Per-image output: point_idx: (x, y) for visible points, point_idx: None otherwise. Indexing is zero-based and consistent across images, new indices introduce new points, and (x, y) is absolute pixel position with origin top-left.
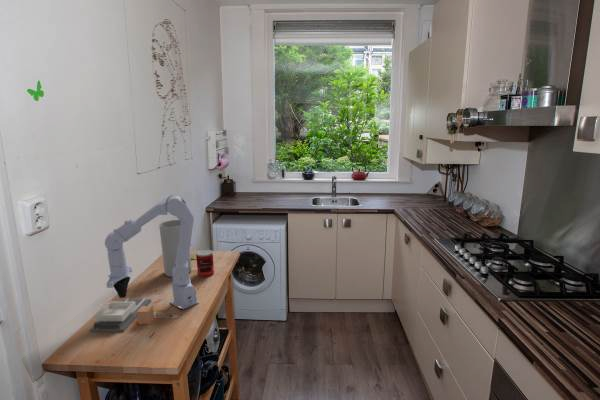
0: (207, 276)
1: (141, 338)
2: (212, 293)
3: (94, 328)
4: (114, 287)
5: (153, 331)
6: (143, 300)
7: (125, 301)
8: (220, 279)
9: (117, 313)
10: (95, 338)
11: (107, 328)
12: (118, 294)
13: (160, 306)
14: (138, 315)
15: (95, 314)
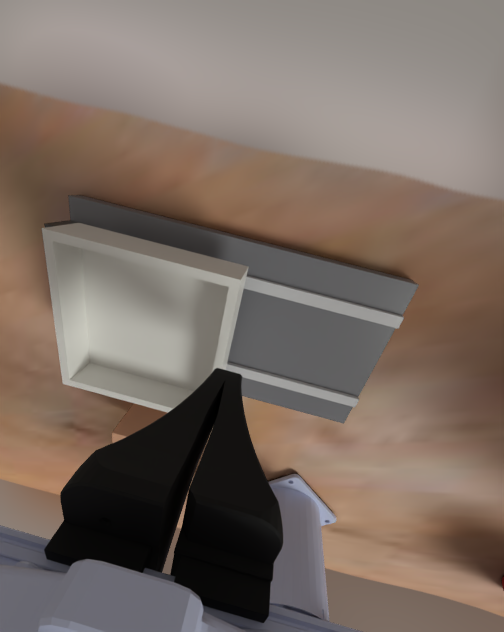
0: (502, 578)
1: (56, 403)
2: (324, 563)
3: (67, 221)
4: (143, 433)
5: (97, 430)
6: (334, 400)
7: (363, 314)
8: (437, 595)
9: (145, 332)
10: (31, 243)
11: None
12: (204, 383)
13: (276, 444)
14: (123, 420)
15: (51, 231)
